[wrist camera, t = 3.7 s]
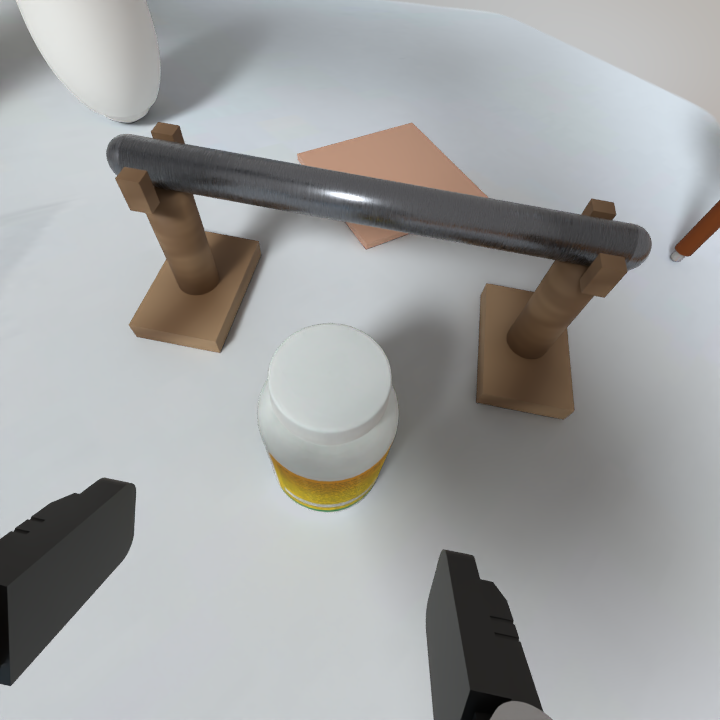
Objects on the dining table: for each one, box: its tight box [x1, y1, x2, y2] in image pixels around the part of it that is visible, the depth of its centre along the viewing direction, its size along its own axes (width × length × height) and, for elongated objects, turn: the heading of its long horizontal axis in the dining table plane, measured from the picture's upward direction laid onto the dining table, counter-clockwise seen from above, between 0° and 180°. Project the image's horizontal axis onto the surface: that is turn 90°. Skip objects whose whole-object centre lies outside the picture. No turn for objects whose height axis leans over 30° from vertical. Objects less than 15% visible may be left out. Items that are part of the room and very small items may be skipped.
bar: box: [106, 134, 652, 271], centre depth 19 cm, size 24×2×2 cm, turn 80°
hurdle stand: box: [115, 122, 627, 419], centre depth 22 cm, size 25×8×10 cm, turn 80°
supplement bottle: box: [257, 323, 399, 513], centre depth 18 cm, size 5×5×10 cm
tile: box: [297, 123, 488, 249], centre depth 33 cm, size 11×11×1 cm
